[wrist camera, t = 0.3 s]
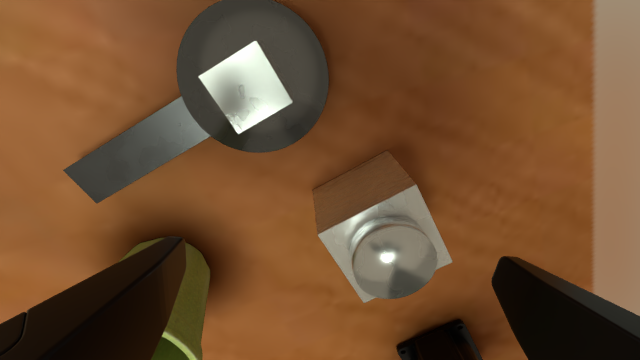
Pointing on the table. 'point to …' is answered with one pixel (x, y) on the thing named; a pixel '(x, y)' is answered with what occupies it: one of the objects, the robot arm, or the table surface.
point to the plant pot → (184, 309)
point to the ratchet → (223, 94)
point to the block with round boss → (379, 229)
